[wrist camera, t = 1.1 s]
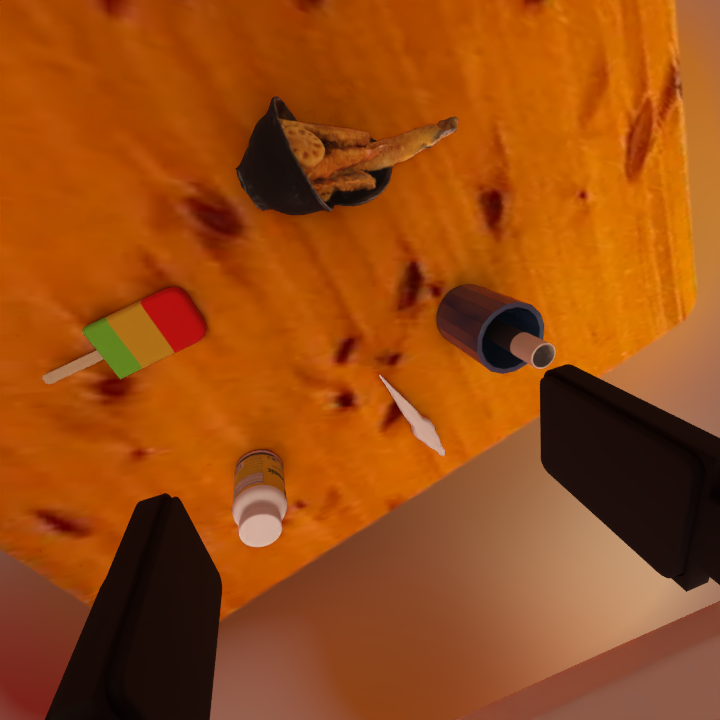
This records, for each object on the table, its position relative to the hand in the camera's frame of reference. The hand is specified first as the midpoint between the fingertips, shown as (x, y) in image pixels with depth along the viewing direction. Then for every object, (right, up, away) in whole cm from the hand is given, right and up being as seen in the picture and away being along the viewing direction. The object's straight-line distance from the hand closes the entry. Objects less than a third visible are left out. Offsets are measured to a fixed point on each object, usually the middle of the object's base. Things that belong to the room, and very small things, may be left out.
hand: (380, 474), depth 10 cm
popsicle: (-23, +5, +27) cm, 36 cm away
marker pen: (+12, +8, +34) cm, 37 cm away
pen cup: (+12, +8, +34) cm, 37 cm away
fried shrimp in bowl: (-2, +21, +26) cm, 33 cm away
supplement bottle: (-12, -10, +35) cm, 39 cm away
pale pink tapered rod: (+6, -4, +38) cm, 38 cm away
